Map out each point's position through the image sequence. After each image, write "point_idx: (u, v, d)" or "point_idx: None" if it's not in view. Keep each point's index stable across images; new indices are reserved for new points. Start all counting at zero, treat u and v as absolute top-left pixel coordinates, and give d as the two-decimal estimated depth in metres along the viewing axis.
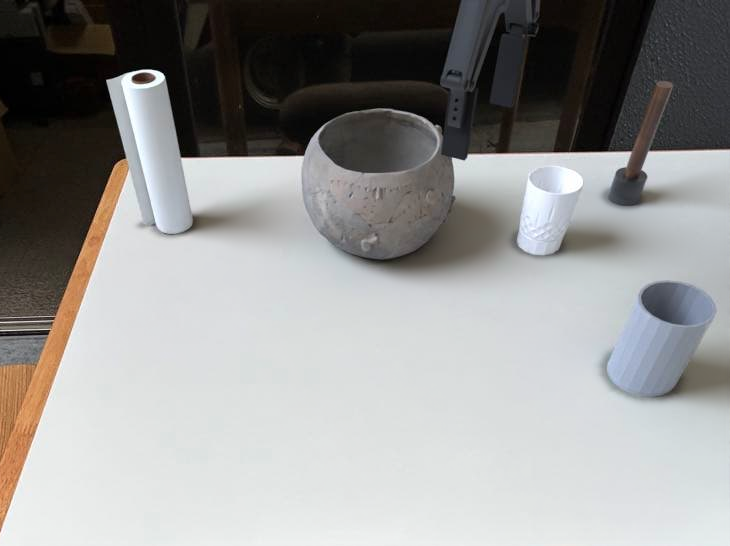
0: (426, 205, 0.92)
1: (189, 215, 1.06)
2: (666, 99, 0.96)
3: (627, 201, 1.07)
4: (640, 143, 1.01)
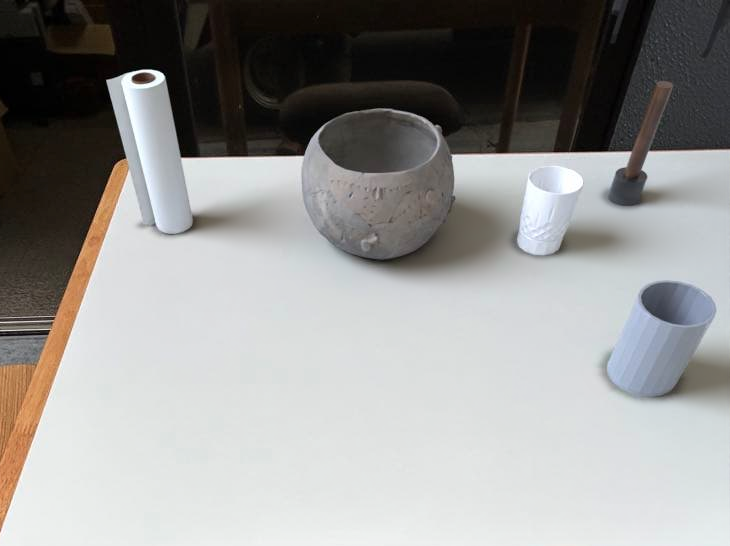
0: (426, 205, 0.92)
1: (189, 215, 1.06)
2: (666, 99, 0.96)
3: (627, 201, 1.07)
4: (640, 143, 1.01)
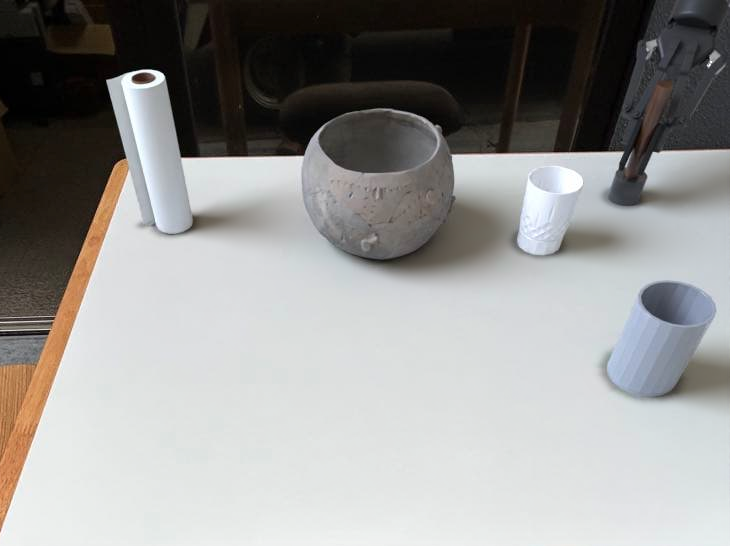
0: (426, 205, 0.92)
1: (189, 215, 1.06)
2: (666, 99, 0.96)
3: (627, 201, 1.07)
4: (640, 143, 1.01)
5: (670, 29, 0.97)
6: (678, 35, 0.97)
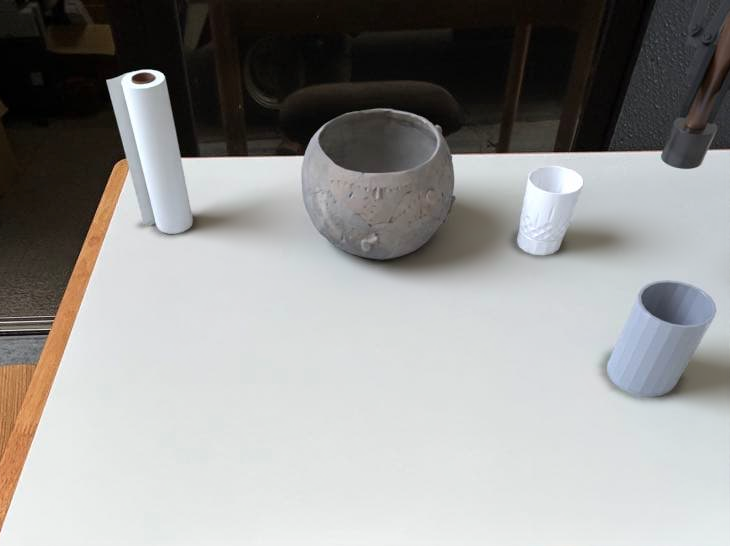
0: (426, 205, 0.92)
1: (189, 215, 1.06)
2: None
3: (689, 161, 0.81)
4: (711, 79, 0.75)
5: None
6: None
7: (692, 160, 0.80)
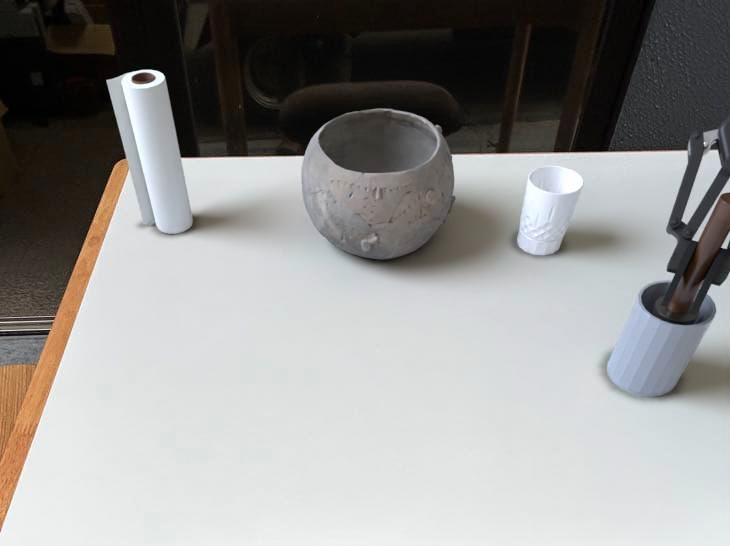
0: (426, 205, 0.92)
1: (189, 215, 1.06)
2: None
3: None
4: (693, 272, 0.72)
5: None
6: None
7: None
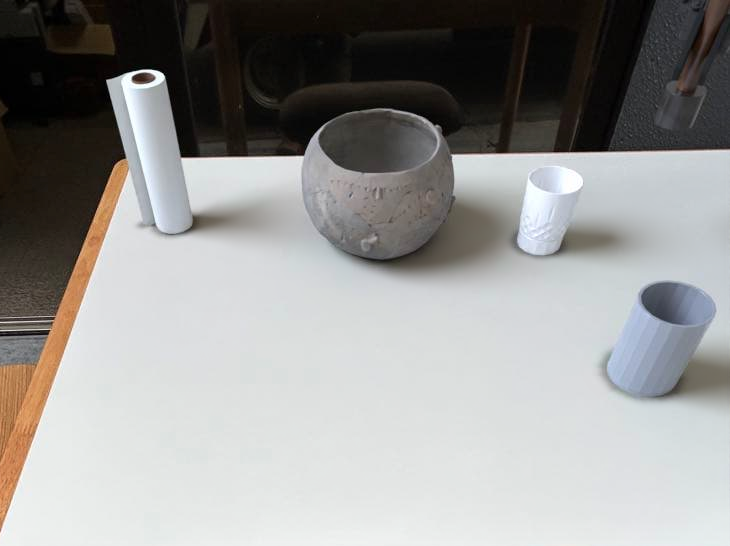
0: (426, 205, 0.92)
1: (189, 215, 1.06)
2: None
3: (680, 123, 0.86)
4: (701, 43, 0.80)
5: None
6: None
7: (683, 122, 0.86)
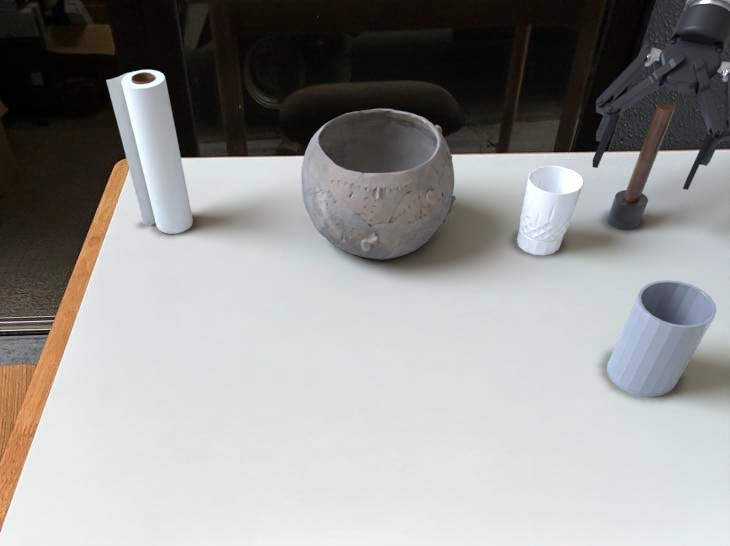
0: (426, 205, 0.92)
1: (189, 215, 1.06)
2: (667, 122, 0.92)
3: (627, 225, 1.03)
4: (640, 166, 0.97)
5: (674, 45, 0.93)
6: (682, 51, 0.93)
7: (629, 225, 1.03)
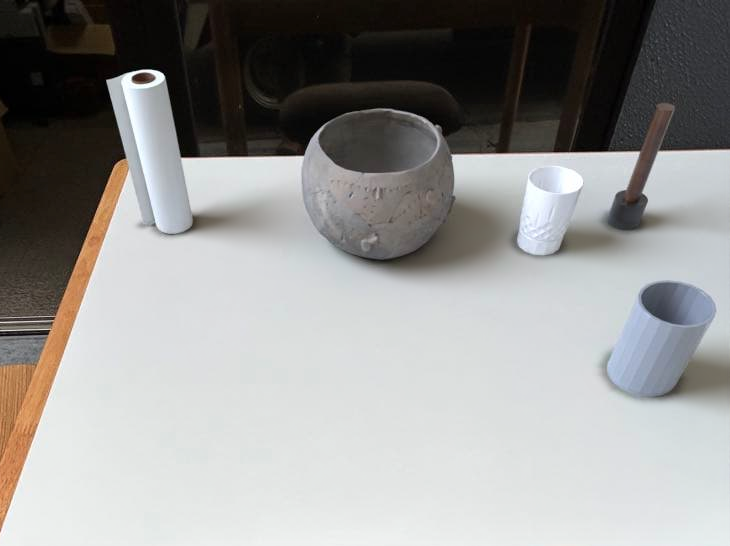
0: (426, 205, 0.92)
1: (189, 215, 1.06)
2: (667, 122, 0.92)
3: (627, 225, 1.03)
4: (640, 166, 0.97)
5: None
6: None
7: (629, 225, 1.03)
